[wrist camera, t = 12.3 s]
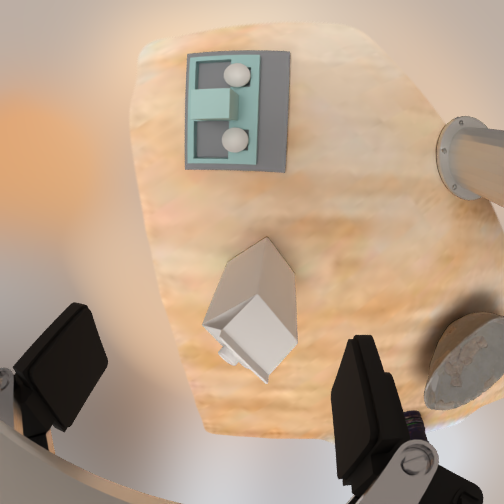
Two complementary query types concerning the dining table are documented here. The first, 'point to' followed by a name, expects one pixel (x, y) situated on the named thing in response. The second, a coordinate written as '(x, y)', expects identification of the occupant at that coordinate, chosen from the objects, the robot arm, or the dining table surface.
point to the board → (270, 112)
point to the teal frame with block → (225, 108)
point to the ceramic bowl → (466, 361)
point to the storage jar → (415, 425)
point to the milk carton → (255, 310)
